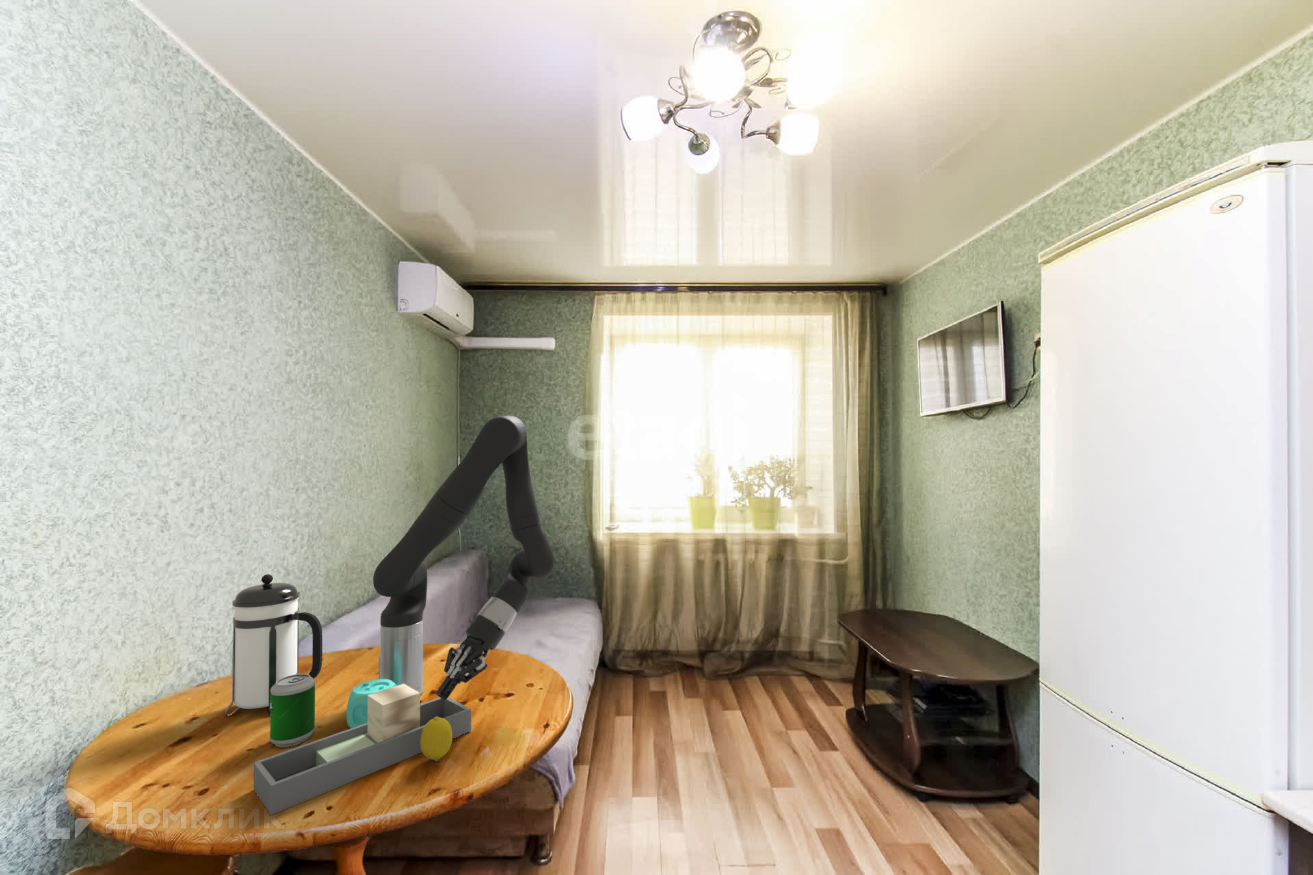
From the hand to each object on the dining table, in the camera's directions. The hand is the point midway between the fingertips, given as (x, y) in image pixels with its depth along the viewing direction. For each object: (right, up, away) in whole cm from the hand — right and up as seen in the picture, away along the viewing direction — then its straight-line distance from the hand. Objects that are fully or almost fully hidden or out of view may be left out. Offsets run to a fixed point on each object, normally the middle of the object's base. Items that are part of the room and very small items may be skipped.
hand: (440, 697), depth 114 cm
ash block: (-6, -4, -7) cm, 10 cm away
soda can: (-29, -8, -3) cm, 30 cm away
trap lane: (-9, -7, -10) cm, 15 cm away
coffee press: (-44, -8, +14) cm, 47 cm away
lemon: (+4, -7, -12) cm, 14 cm away
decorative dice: (-16, -8, +3) cm, 18 cm away
